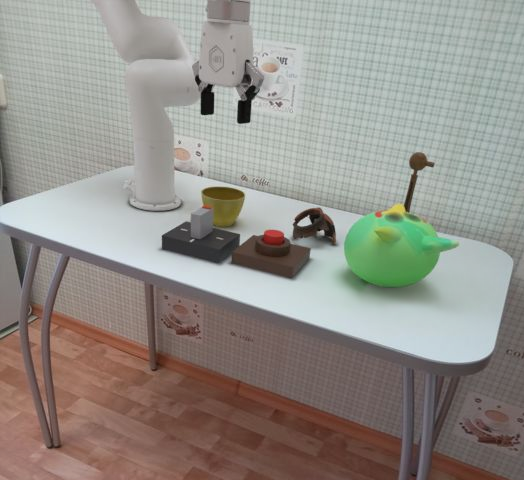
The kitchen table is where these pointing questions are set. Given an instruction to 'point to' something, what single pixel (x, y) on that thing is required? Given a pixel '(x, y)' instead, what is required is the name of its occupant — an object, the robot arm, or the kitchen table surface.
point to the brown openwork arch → (314, 224)
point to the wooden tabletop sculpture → (415, 175)
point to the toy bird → (393, 247)
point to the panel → (201, 243)
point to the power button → (273, 237)
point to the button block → (271, 256)
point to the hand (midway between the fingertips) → (225, 118)
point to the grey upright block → (201, 222)
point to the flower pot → (223, 204)
